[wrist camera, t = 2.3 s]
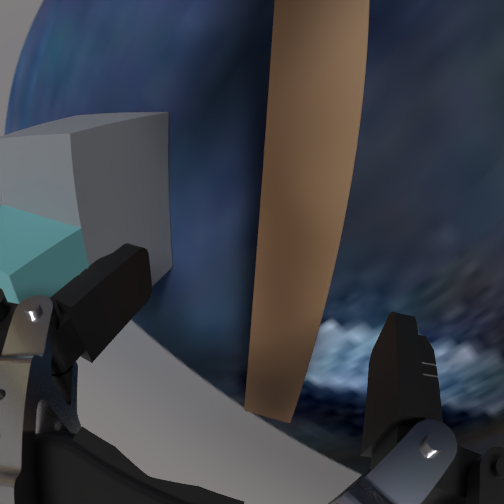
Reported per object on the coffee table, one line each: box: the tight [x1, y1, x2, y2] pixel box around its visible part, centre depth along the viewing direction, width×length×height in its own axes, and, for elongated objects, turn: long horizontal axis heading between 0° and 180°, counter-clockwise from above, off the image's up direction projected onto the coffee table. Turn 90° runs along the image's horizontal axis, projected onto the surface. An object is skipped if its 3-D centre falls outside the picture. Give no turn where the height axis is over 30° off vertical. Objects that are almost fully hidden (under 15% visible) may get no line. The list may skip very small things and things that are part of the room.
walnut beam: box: [244, 0, 369, 423], centre depth 14 cm, size 3×22×5 cm, turn 177°
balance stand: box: [0, 112, 173, 304], centre depth 14 cm, size 8×10×11 cm
